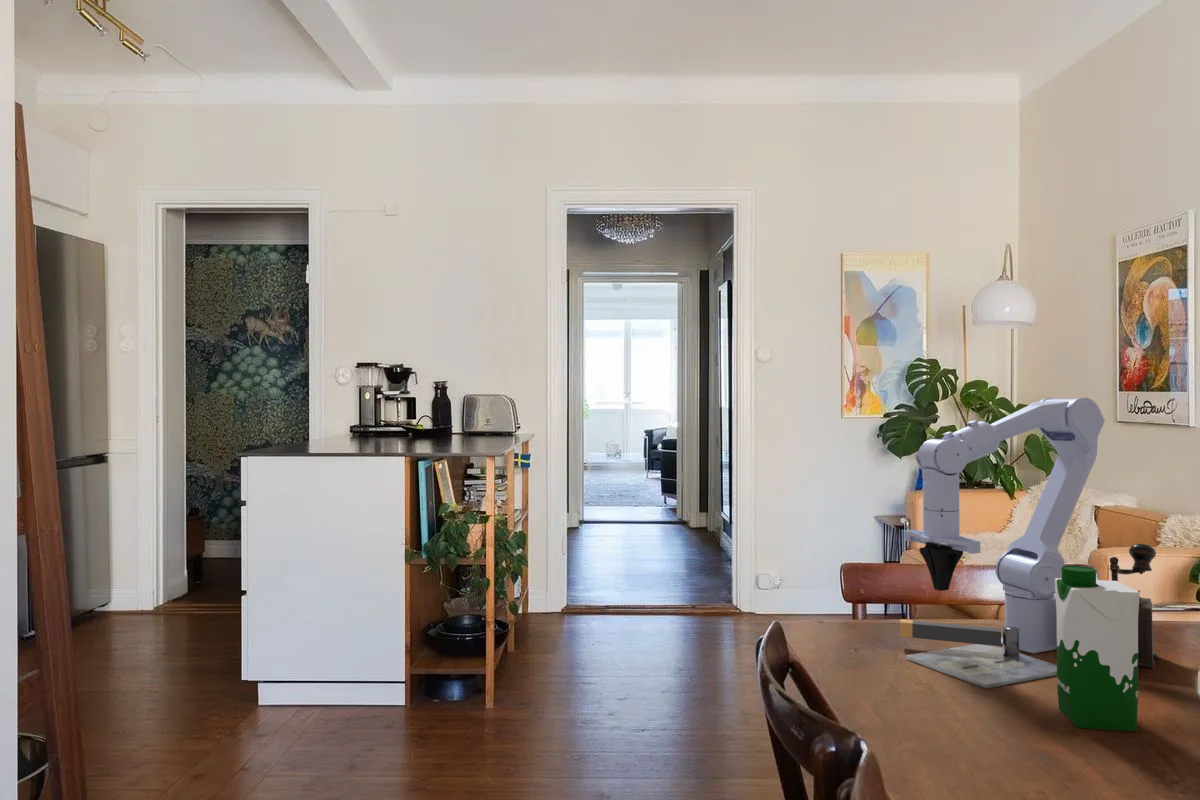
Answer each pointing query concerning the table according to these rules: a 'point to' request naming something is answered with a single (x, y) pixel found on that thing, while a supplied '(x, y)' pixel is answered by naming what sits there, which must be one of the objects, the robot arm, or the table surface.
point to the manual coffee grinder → (1141, 603)
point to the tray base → (987, 662)
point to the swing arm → (950, 632)
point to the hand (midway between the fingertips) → (941, 589)
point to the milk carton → (1097, 650)
